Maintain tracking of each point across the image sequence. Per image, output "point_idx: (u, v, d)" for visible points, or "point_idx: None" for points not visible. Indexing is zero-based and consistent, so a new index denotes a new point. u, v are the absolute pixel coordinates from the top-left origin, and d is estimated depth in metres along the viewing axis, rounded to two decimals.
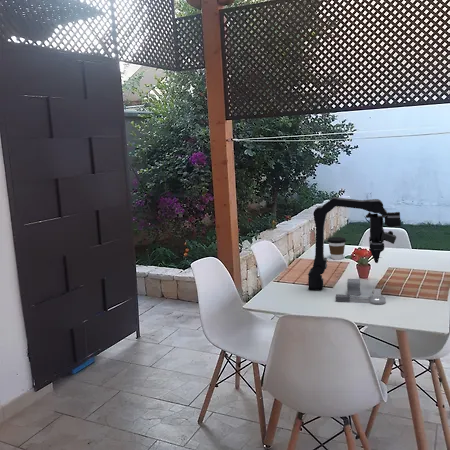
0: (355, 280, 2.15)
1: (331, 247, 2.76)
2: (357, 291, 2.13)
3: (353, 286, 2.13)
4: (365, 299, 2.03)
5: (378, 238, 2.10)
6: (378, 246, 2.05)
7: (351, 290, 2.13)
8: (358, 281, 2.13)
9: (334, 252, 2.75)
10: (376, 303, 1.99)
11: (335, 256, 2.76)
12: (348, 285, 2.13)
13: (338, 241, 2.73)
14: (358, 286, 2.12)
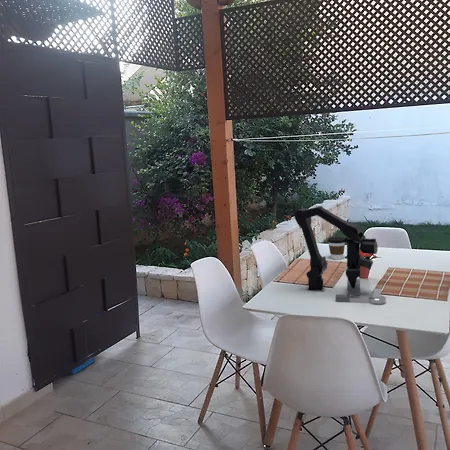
0: None
1: (331, 247, 2.76)
2: (357, 291, 2.13)
3: None
4: (365, 299, 2.03)
5: (354, 263, 2.11)
6: (354, 272, 2.05)
7: (351, 290, 2.13)
8: (358, 281, 2.13)
9: (334, 252, 2.75)
10: (376, 303, 1.99)
11: (335, 256, 2.76)
12: (348, 285, 2.13)
13: (338, 241, 2.72)
14: (358, 286, 2.12)
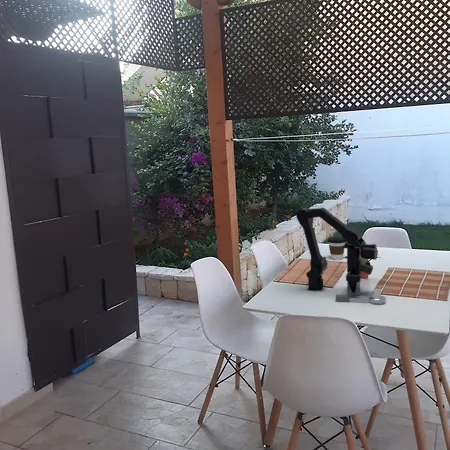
0: None
1: (331, 247, 2.76)
2: (357, 291, 2.13)
3: None
4: (365, 299, 2.03)
5: (355, 269, 2.11)
6: (354, 278, 2.05)
7: (351, 290, 2.13)
8: None
9: (334, 252, 2.75)
10: (376, 303, 1.99)
11: (335, 256, 2.76)
12: (348, 285, 2.13)
13: (338, 241, 2.72)
14: (358, 286, 2.12)
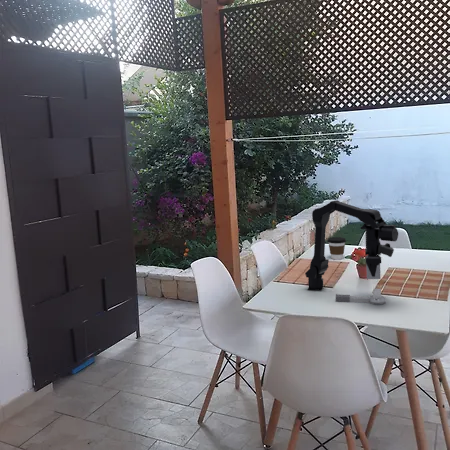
0: None
1: (331, 247, 2.76)
2: (377, 275, 2.00)
3: None
4: (365, 299, 2.03)
5: (374, 251, 1.99)
6: (375, 260, 1.93)
7: None
8: None
9: (334, 252, 2.75)
10: (376, 303, 1.99)
11: (335, 256, 2.76)
12: (367, 269, 2.01)
13: (338, 241, 2.73)
14: (379, 269, 1.99)
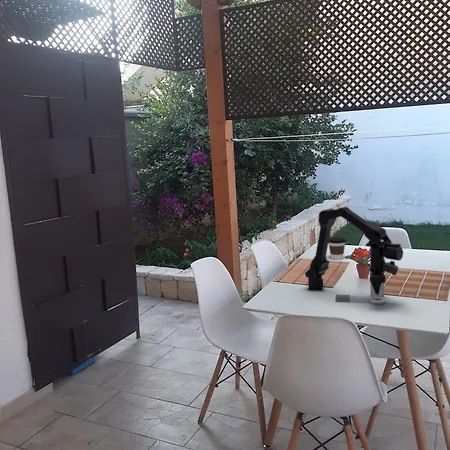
0: None
1: (331, 247, 2.76)
2: (381, 293, 1.99)
3: None
4: (365, 299, 2.03)
5: (378, 269, 1.97)
6: (379, 279, 1.92)
7: None
8: None
9: (334, 252, 2.75)
10: (376, 303, 1.99)
11: (335, 256, 2.76)
12: (371, 286, 1.99)
13: (338, 241, 2.73)
14: (383, 287, 1.98)
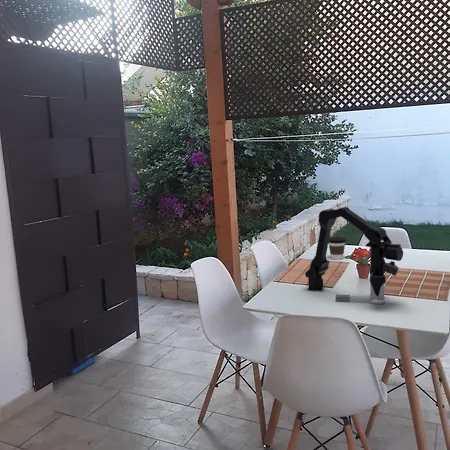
0: None
1: (331, 247, 2.76)
2: (381, 296, 1.99)
3: None
4: (365, 299, 2.03)
5: (379, 269, 1.97)
6: (379, 279, 1.92)
7: (375, 294, 2.00)
8: (382, 285, 2.00)
9: (334, 252, 2.75)
10: (376, 303, 1.99)
11: (335, 256, 2.76)
12: (371, 289, 2.00)
13: (338, 241, 2.72)
14: (382, 290, 1.98)
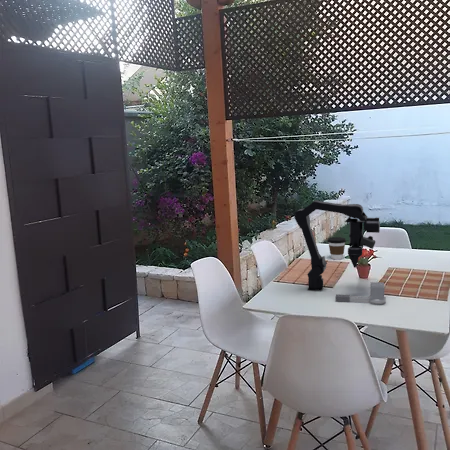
0: (378, 284, 2.01)
1: (331, 247, 2.76)
2: (381, 296, 1.99)
3: (377, 290, 1.99)
4: (365, 299, 2.03)
5: (357, 243, 2.12)
6: (356, 251, 2.06)
7: (375, 294, 2.00)
8: (382, 285, 2.00)
9: (334, 252, 2.75)
10: (376, 303, 1.99)
11: (335, 256, 2.76)
12: (371, 289, 2.00)
13: (338, 241, 2.73)
14: (382, 290, 1.98)
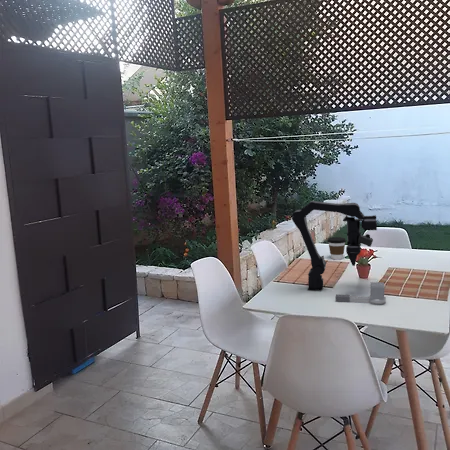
0: (378, 284, 2.01)
1: (331, 247, 2.76)
2: (381, 296, 1.99)
3: (377, 290, 1.99)
4: (365, 299, 2.03)
5: (355, 241, 2.14)
6: (354, 249, 2.08)
7: (375, 294, 2.00)
8: (382, 285, 2.00)
9: (334, 252, 2.75)
10: (376, 303, 1.99)
11: (335, 256, 2.76)
12: (371, 289, 2.00)
13: (338, 241, 2.73)
14: (382, 290, 1.98)
